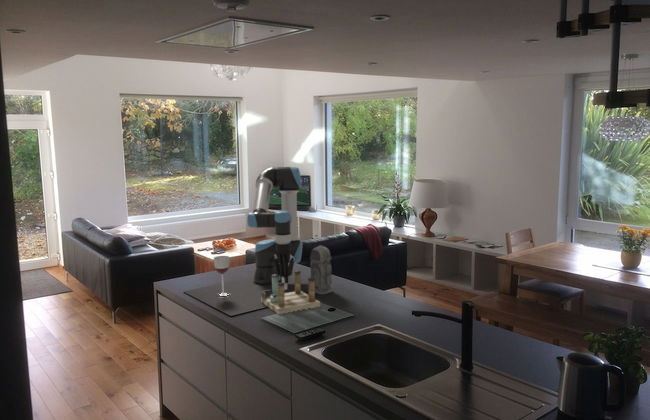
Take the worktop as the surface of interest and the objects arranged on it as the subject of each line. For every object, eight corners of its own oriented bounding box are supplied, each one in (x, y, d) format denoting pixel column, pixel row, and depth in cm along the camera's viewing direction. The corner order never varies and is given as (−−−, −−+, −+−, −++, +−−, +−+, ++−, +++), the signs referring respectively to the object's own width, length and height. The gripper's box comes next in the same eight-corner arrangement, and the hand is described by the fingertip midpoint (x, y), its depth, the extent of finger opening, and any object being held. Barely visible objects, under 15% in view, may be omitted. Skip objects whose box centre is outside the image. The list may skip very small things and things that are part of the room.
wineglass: (232, 292, 290) (231, 255, 287) (228, 297, 282) (226, 259, 279) (218, 292, 291) (216, 255, 288) (213, 297, 282) (211, 259, 280)
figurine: (323, 295, 282) (323, 248, 279) (306, 290, 293) (305, 244, 289) (337, 292, 289) (337, 245, 285) (320, 286, 299) (319, 241, 296)
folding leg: (279, 302, 263) (278, 280, 262) (270, 302, 263) (269, 280, 261) (280, 295, 275) (279, 274, 273) (271, 295, 275) (270, 274, 273)
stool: (261, 301, 274) (260, 275, 272) (300, 295, 284) (300, 269, 282) (278, 314, 255) (277, 285, 253) (320, 306, 265) (319, 279, 263)
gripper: (298, 242, 268) (299, 288, 271) (276, 240, 274) (278, 285, 277) (290, 245, 261) (291, 292, 265) (267, 242, 268) (269, 289, 271)
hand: (284, 289), depth 271 cm, fingers closed
